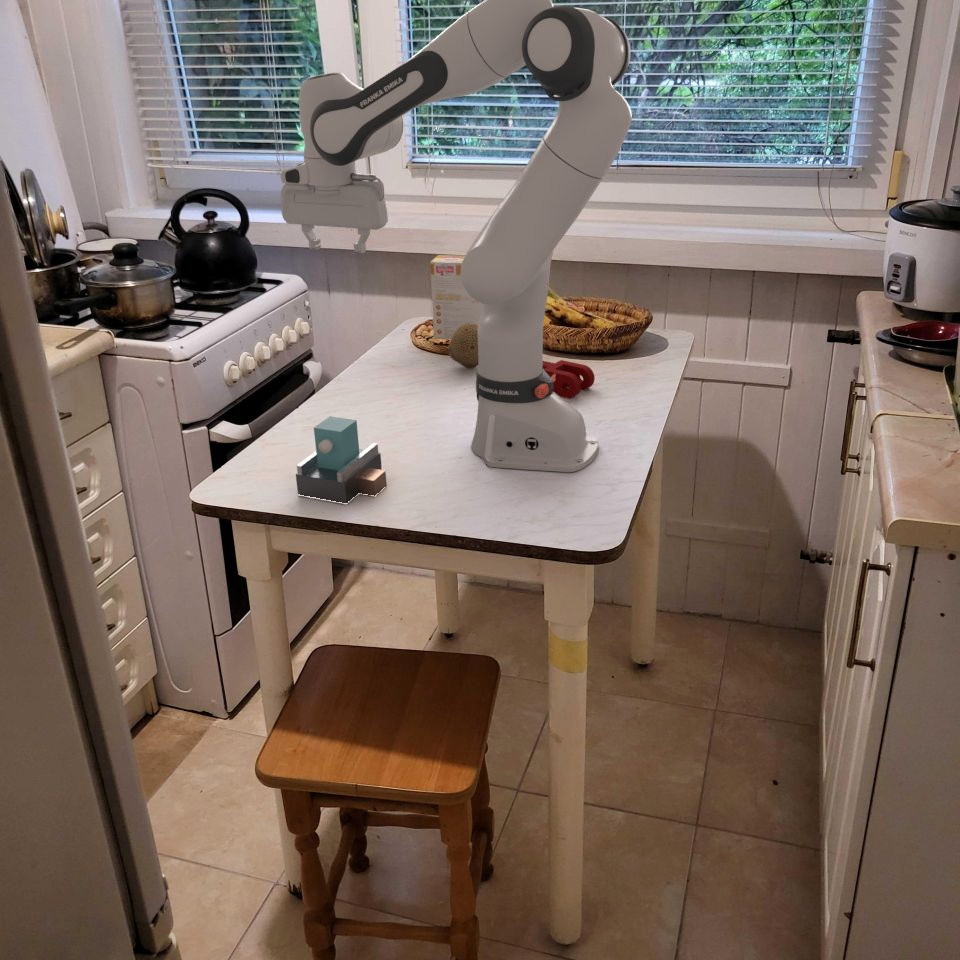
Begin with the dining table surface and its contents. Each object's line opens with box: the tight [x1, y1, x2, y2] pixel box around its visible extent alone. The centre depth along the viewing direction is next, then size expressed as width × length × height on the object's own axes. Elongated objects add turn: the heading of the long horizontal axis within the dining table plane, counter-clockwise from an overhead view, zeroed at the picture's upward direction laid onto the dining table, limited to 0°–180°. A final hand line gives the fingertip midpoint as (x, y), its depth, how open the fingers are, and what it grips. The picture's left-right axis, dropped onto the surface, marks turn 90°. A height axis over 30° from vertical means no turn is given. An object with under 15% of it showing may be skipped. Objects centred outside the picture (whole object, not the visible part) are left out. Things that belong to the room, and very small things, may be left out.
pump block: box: [313, 416, 360, 471], centre depth 158 cm, size 5×6×7 cm
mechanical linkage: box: [543, 359, 595, 400], centre depth 199 cm, size 16×7×5 cm, turn 54°
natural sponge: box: [447, 323, 479, 369], centre depth 209 cm, size 9×9×10 cm
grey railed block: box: [295, 442, 388, 504], centre depth 160 cm, size 12×12×6 cm
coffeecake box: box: [429, 254, 483, 340], centre depth 223 cm, size 15×7×20 cm, turn 77°
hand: (337, 250), depth 178 cm, fingers open, 8 cm apart
